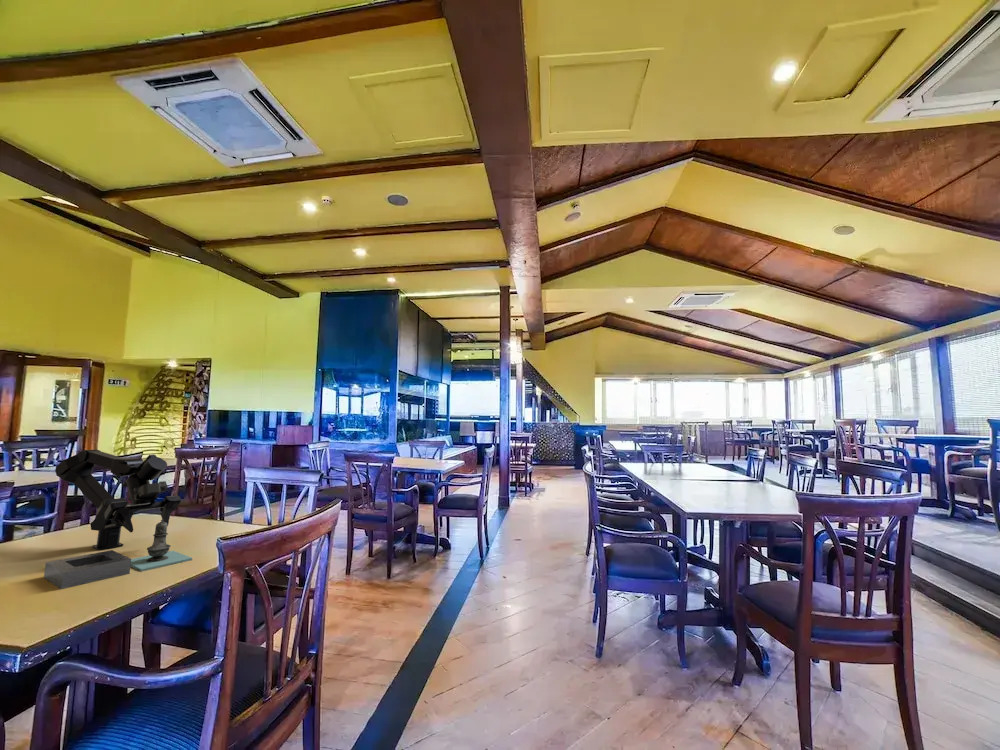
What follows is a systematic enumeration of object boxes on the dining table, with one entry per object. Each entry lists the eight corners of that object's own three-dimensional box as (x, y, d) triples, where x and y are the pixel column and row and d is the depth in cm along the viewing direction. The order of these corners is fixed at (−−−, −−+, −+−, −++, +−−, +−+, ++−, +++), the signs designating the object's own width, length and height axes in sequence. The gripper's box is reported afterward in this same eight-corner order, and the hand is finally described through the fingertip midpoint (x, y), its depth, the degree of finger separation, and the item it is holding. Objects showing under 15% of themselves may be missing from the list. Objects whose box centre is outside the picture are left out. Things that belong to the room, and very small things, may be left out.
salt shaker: (140, 561, 129) (145, 520, 130) (157, 555, 135) (161, 516, 136) (158, 562, 129) (163, 521, 130) (174, 556, 134) (178, 517, 136)
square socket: (43, 577, 116) (46, 562, 117) (110, 563, 128) (112, 550, 129) (60, 589, 109) (63, 572, 109) (129, 573, 121) (131, 558, 121)
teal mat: (122, 562, 129) (123, 560, 130) (172, 552, 141) (173, 550, 141) (141, 571, 123) (141, 569, 123) (192, 559, 134) (192, 557, 134)
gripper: (113, 476, 133) (122, 517, 126) (181, 471, 149) (193, 508, 142) (100, 499, 137) (108, 540, 130) (168, 492, 152) (179, 529, 145)
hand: (150, 528), depth 137 cm, fingers open, 9 cm apart
